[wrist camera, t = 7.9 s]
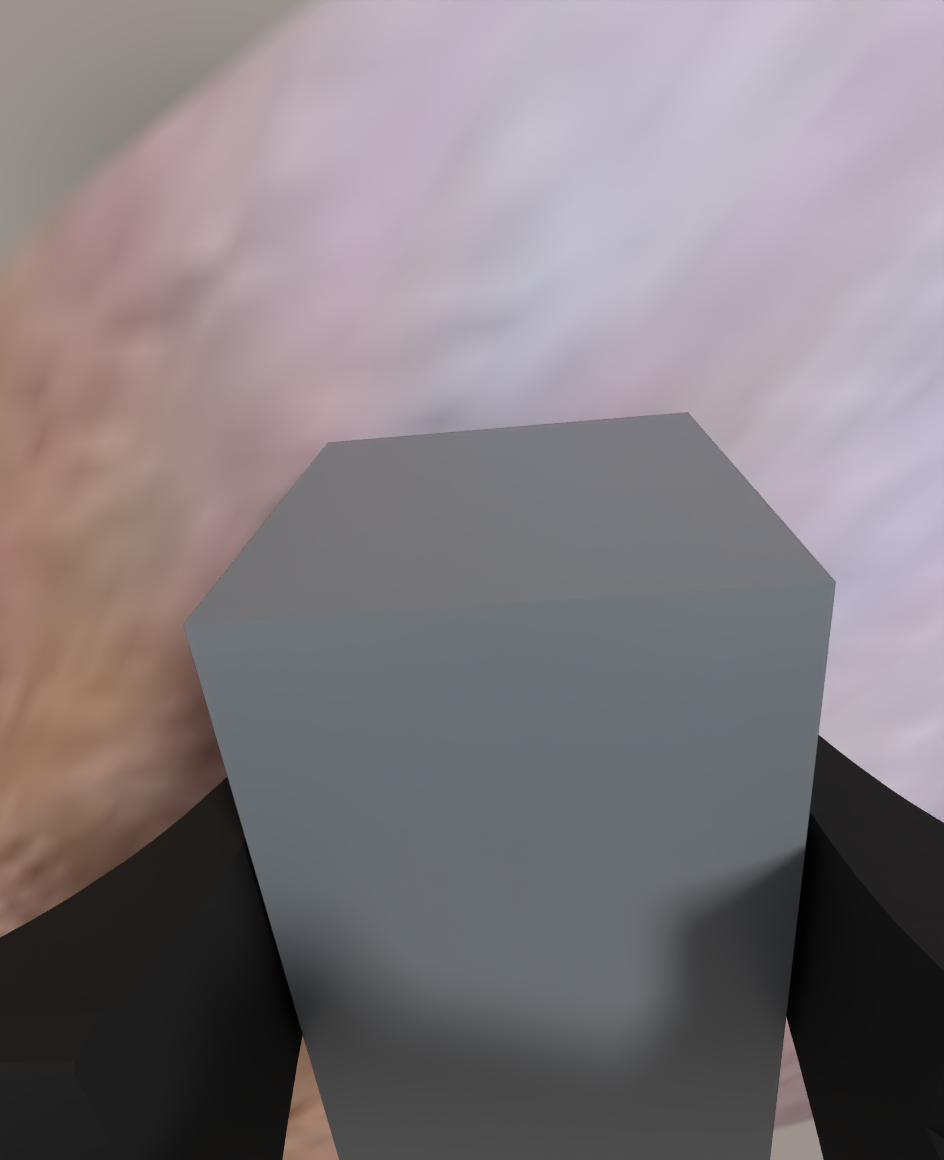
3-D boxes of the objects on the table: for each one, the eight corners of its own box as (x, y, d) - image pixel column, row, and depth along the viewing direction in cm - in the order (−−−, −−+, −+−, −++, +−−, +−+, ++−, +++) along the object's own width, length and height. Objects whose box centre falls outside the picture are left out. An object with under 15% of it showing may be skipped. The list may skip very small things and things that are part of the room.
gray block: (687, 412, 13) (835, 581, 7) (679, 832, 16) (768, 1168, 11) (327, 442, 13) (182, 624, 7) (400, 843, 17) (342, 1170, 11)
